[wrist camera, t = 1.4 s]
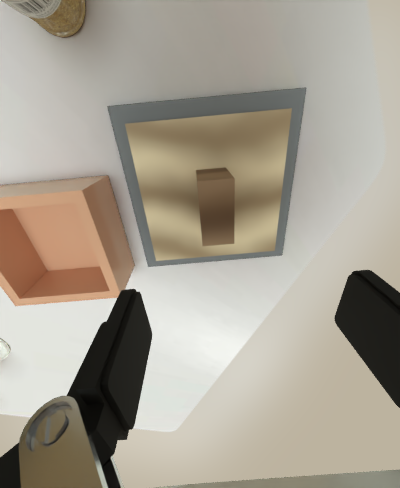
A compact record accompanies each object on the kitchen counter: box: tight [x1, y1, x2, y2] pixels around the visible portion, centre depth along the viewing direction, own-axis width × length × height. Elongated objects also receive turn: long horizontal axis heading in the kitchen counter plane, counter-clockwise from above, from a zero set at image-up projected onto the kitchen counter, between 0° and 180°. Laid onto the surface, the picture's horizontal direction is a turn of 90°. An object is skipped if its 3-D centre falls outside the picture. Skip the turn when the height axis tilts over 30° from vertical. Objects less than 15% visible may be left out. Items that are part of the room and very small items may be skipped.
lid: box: [125, 108, 292, 261], centre depth 20 cm, size 15×15×6 cm
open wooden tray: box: [0, 175, 135, 306], centre depth 22 cm, size 12×12×6 cm
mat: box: [107, 88, 306, 267], centre depth 23 cm, size 18×18×1 cm
